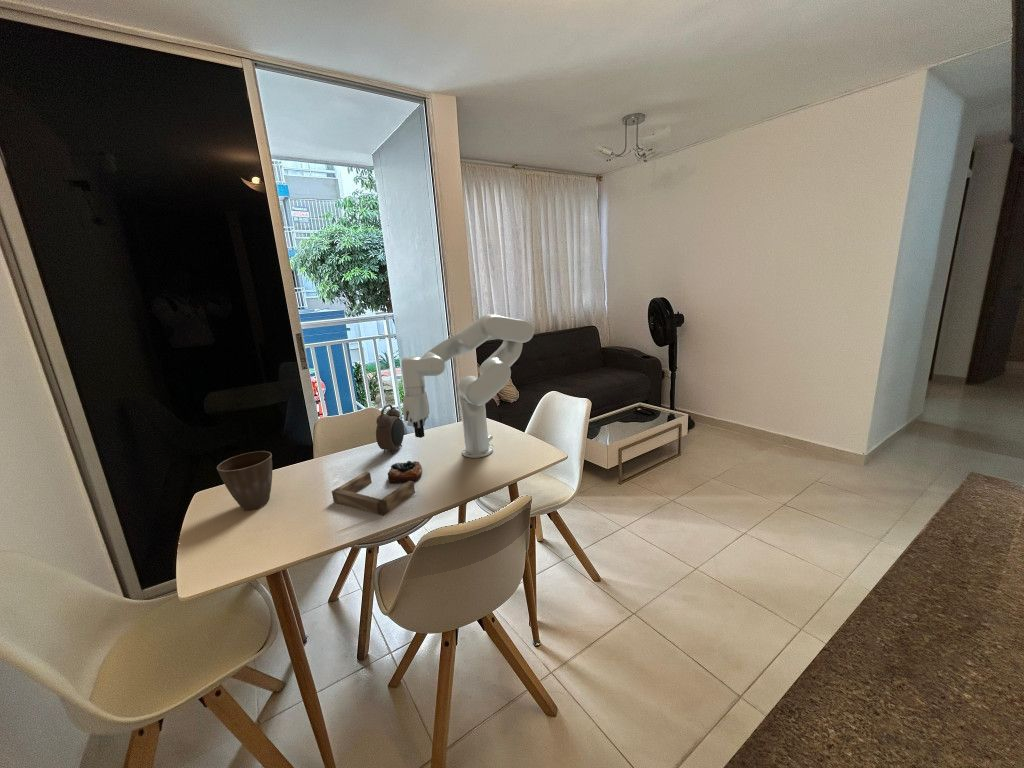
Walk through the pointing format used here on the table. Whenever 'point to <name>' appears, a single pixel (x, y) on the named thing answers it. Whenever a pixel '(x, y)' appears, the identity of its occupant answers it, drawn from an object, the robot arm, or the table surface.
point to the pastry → (404, 472)
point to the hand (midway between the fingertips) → (419, 436)
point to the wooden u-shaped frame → (374, 505)
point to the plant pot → (248, 478)
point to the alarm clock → (389, 429)
